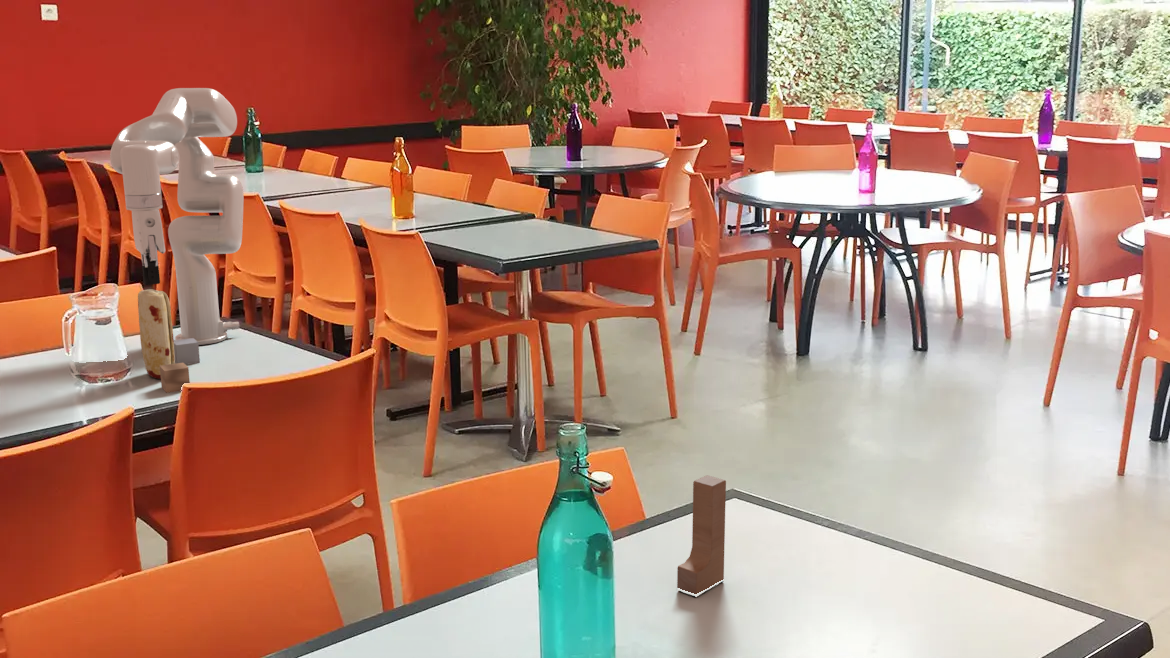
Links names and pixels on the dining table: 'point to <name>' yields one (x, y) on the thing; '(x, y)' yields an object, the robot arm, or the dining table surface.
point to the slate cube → (186, 351)
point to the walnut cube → (174, 376)
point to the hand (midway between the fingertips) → (152, 283)
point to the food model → (155, 330)
